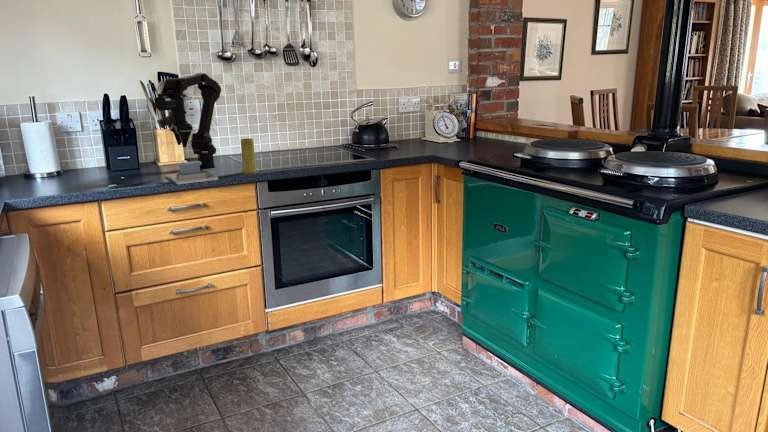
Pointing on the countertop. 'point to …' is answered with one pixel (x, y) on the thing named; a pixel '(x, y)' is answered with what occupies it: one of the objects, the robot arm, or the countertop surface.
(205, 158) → the robot arm
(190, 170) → the block
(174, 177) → the chassis plate
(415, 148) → the countertop surface
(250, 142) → the vase
